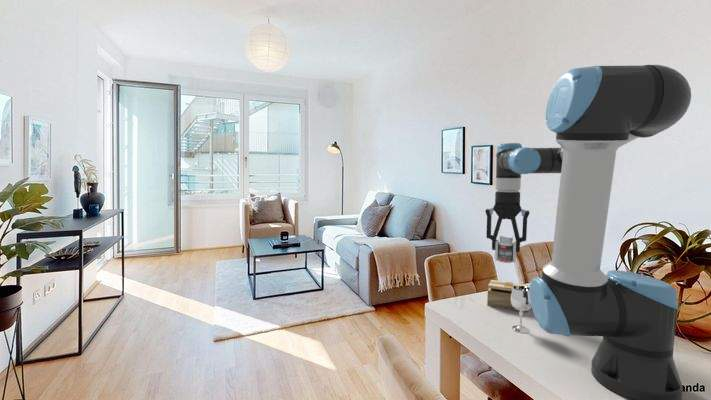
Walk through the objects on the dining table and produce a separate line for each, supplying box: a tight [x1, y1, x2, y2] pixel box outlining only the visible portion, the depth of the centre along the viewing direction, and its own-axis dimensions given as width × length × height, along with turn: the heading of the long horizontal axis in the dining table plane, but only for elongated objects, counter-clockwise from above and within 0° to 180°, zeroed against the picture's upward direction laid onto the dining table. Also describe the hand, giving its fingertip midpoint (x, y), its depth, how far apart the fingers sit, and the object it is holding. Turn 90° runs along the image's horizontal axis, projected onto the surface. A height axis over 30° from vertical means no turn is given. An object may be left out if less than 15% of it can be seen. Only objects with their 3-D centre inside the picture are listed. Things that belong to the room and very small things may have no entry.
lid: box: [487, 279, 530, 291], centre depth 118 cm, size 10×12×1 cm
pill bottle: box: [497, 235, 514, 264], centre depth 117 cm, size 5×5×8 cm
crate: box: [486, 288, 528, 313], centre depth 118 cm, size 10×12×5 cm
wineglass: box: [510, 286, 532, 334], centre depth 99 cm, size 6×6×12 cm
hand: (505, 260), depth 117 cm, fingers closed on pill bottle, 5 cm apart
